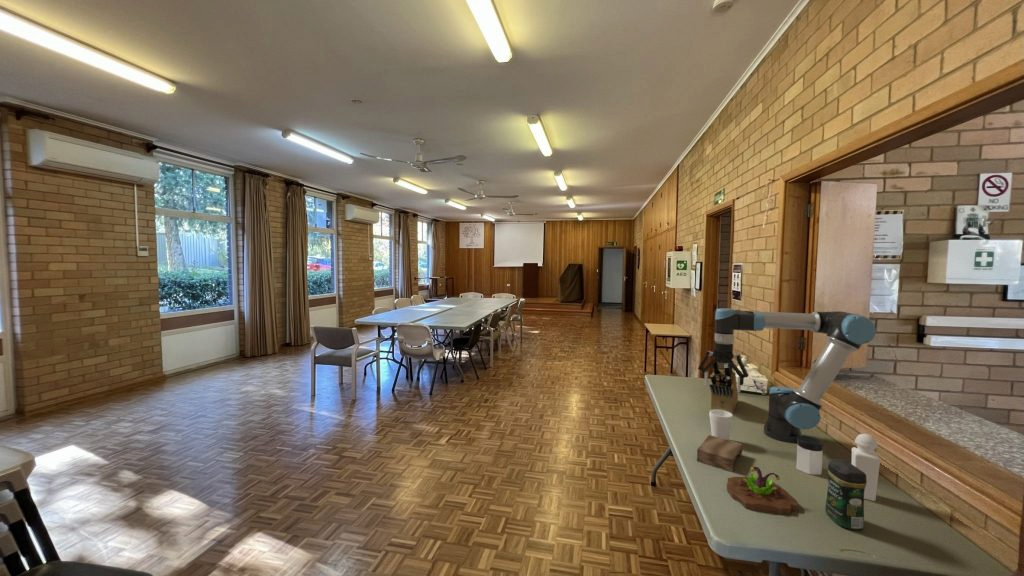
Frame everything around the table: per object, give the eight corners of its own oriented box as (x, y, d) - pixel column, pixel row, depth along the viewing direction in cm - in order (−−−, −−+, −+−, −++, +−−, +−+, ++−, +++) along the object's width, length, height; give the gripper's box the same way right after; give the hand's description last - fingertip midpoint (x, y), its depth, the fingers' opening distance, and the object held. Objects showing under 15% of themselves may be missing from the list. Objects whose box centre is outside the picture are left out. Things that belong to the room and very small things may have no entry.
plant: (716, 481, 149) (717, 452, 148) (770, 482, 148) (771, 453, 147) (745, 514, 129) (746, 481, 128) (807, 516, 128) (808, 483, 127)
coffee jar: (820, 510, 130) (823, 456, 129) (846, 512, 129) (849, 457, 128) (840, 530, 121) (844, 471, 119) (869, 532, 120) (873, 473, 119)
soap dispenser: (877, 502, 135) (881, 440, 133) (852, 496, 138) (856, 435, 137) (873, 493, 140) (876, 433, 139) (849, 487, 144) (852, 429, 142)
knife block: (706, 414, 213) (708, 358, 211) (717, 397, 242) (718, 347, 240) (730, 419, 206) (732, 361, 205) (738, 400, 235) (740, 349, 233)
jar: (827, 472, 154) (828, 442, 153) (815, 477, 151) (817, 447, 150) (802, 462, 162) (803, 433, 161) (790, 466, 159) (791, 437, 158)
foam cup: (734, 446, 176) (735, 418, 175) (712, 444, 178) (713, 416, 177) (727, 437, 185) (728, 410, 184) (706, 435, 187) (707, 408, 186)
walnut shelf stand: (741, 455, 168) (742, 443, 168) (732, 472, 154) (732, 459, 154) (708, 446, 176) (709, 435, 176) (696, 461, 163) (697, 449, 162)
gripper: (692, 340, 184) (690, 384, 185) (754, 347, 168) (752, 396, 169) (696, 338, 190) (695, 381, 191) (757, 345, 173) (755, 392, 175)
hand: (721, 388), depth 180 cm, fingers open, 13 cm apart
